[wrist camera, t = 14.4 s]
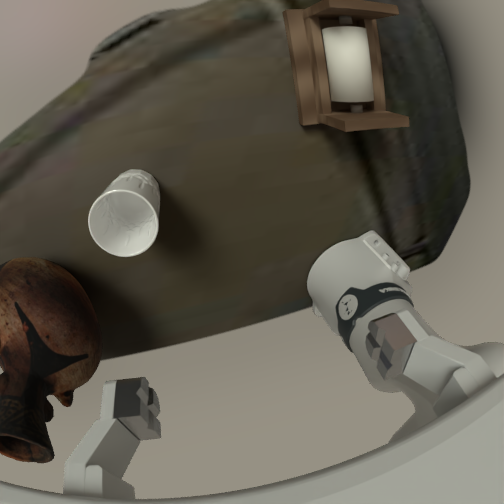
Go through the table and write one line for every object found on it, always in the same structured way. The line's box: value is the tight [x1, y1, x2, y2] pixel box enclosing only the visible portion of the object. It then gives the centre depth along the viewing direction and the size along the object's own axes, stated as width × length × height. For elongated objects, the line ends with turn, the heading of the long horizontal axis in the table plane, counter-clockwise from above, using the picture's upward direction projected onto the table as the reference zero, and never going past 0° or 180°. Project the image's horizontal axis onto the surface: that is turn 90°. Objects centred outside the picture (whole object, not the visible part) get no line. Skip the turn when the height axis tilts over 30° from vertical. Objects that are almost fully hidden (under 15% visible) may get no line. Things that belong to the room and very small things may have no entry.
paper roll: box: [322, 26, 374, 102], centre depth 31 cm, size 10×6×6 cm, turn 9°
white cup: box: [88, 169, 160, 257], centre depth 34 cm, size 8×8×10 cm
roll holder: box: [283, 0, 409, 132], centre depth 30 cm, size 16×13×10 cm
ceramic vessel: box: [0, 257, 102, 463], centre depth 30 cm, size 21×18×30 cm
